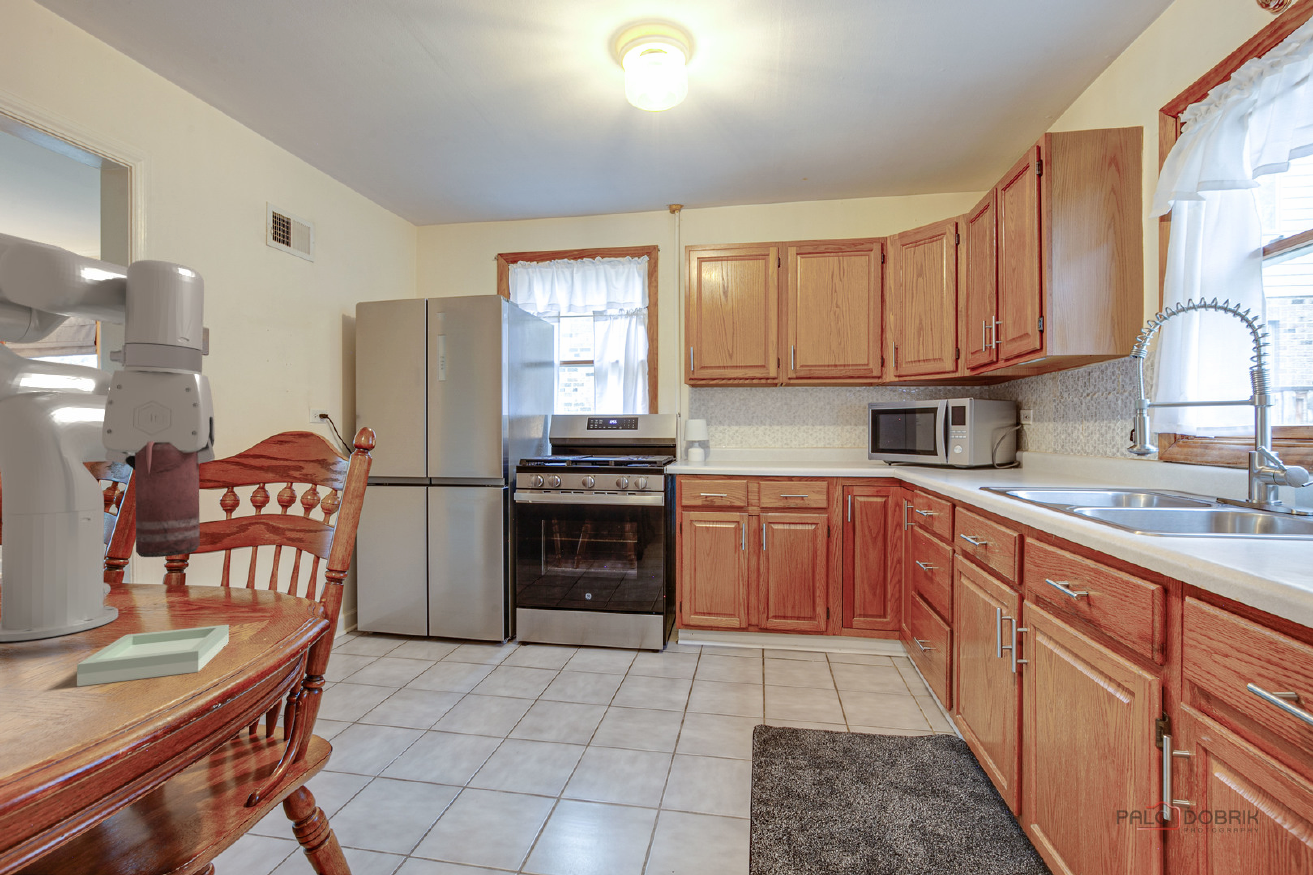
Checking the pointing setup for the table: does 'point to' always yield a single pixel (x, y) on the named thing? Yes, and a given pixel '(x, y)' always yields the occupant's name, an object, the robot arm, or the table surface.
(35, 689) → the table surface
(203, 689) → the table surface
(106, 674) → the plate
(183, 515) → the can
